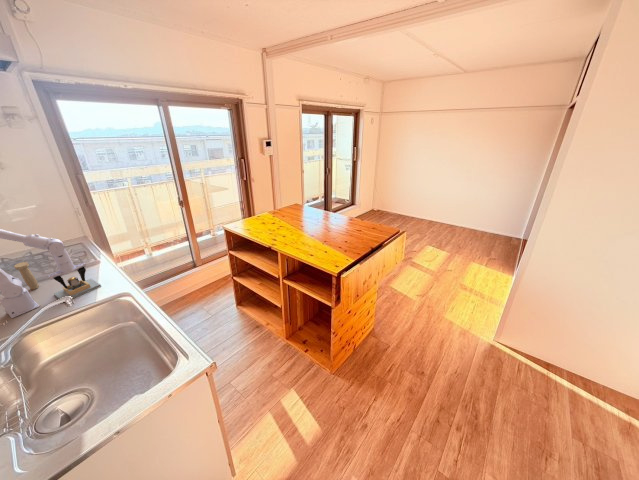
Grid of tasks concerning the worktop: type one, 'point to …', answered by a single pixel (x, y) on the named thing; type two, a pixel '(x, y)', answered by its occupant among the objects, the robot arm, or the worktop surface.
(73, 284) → the valve stub
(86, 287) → the fitting base
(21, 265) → the handle
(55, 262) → the robot arm
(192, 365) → the worktop surface
